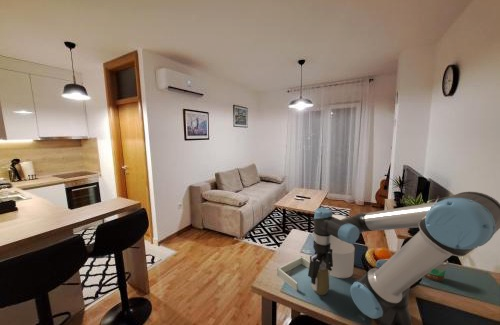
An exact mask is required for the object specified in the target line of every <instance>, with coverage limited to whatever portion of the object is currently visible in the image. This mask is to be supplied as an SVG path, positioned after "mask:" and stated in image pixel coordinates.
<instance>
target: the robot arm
mask: <svg viewBox="0 0 500 325" xmlns="http://www.w3.org/2000/svg"><path fill="white" fill-rule="evenodd" d="M332 215H333V212H332V210H331V209H330V208H326V207H318V208H316V209H315V210H314V216H313V249H314V254H313V255H310V256H309V261H310V265H309V268H308V274H307V276H308V277H309V278H311V280H310V282H311V289H313V291H314V290H315V291H317V283H318V278H317V274H318V270H319V267H320V264H322V261H324V263H325V264H326V268H327V269H328V276H329V277H330V275H329V273H330V271H331V270H332V268H331V267H333V260H332V249H331V248H330V245H331V244H330V242H331V235H332V236H334V237H336V238H338V239H340V240H341V241H344V242H347V243H349V244H353V245H354V244H355V243H356V241H358V240H359V237H360V234H362V233H367V232H374V231H375V232H376V231H389V230H391V231H392V230H402V229H414V228H416V229H417V228H418V229H419V231H417V233H416V234H414V235H413V236H412V237H411V238H410V239H409V240H408V241H407V242H406V243H405V244H404V245H402V247H400V248H399V249H398V250H397V251H396V252H395V253H394V254H393V255H391V256H390V257H389V258H388V259H385V258H384V259H381V258H380V259H378V260H377V261H376V263H375V267H373V268H370V269H369V270H368V271H367V272H366V273H365V274H364V275H363V276H361V278H359V279H358V280H357V281H354V282H353V284H351V286H350V288H349V293H350V296H351V300H352V301H353V303H354V304H355V306H356V307H357V309H358V310H359V311H360V312H361V313H362V314H363V315H365V316H367V317H368V318H370V319H372V320H374V322H375V323H377V324H378V325H412V323H413V322H412V316H411V312H410V309H409V306H408V305H409V297H410V291H411V290H410V289H411V286H413V285H414V284H416V283H417V282H418V281H419V280H421V279H422V278H423V277H424V276H425V275H426V274H427V273H429V272H430V271H431V270H433V269H434V268H435V267H437V266H438V265H439V264H441V263H442V262H446V261H447V260H448V259H449V258H450V257H451V256H455V257H465V256H466V255H467V254H470V252H472V251H473V250H475V249H478V247H482V246H484V245H486V244H487V243H488V242H489V241H490V240H491V239H492V238H493V237H494V235H495V234H496V233H497V232H498V231H499V230H500V202H499V201H498V200H497V199H496V198H494V197H492V196H490V195H488V194H485V193H482V192H477V191H462V192H458V193H456V194H454V195H449V196H446V197H445V196H444V197H438V198H437V199H436V200H435V201H433V202H428V203H422V204H415V205H409V206H403V207H397V208H390V209H386V210H385V209H384V210H378V211H371V212H360V213H356V214H355V215H352V216H350V217H347V218H346V219H344V220H339V219H337V218H334V217H332ZM319 261H320V262H319Z"/></svg>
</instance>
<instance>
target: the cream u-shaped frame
mask: <svg viewBox="0 0 500 325" xmlns="http://www.w3.org/2000/svg"><path fill="white" fill-rule="evenodd" d="M301 265H303V266H305V267H306V268H307V269H309V265H310V260H309V259H307V258H305V257H304V256H301V255H300V256H299V257H297V258H296V259H292V260H291V261H289V262H287V263H285V264H283V265H281V266H279V267H277V268H276V275H277V276H278V277H279V278H280V279H281V280H283V281H284V282H285V283H286V284H287V285H289V286H290V288H292V289H293V290H295V292H297V291H298V290H299V283H298V281H296V280H295V279H294V278H293V277H291V276H290V275H289V274H287V273H286V272H289V271H291V270H293V269H295V268H297V267H299V266H301Z"/></svg>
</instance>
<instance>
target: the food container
mask: <svg viewBox="0 0 500 325" xmlns="http://www.w3.org/2000/svg"><path fill="white" fill-rule="evenodd" d="M449 266H450V265H449V261H448V260H446V261H444V262H442V263H441V264H439V265H438V266H437V267H435V268H434V269H433V270H431V271H430V272H429V273H427V274H426V275H425V276H423V277H424V278H425V279H427V280H430V281H433V282H439V283H440V282H443V280H444V278H445V274H446V271H447V269H448V268H450V267H449Z"/></svg>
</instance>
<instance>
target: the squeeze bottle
mask: <svg viewBox="0 0 500 325" xmlns="http://www.w3.org/2000/svg"><path fill="white" fill-rule="evenodd" d="M319 262H320V261H319ZM317 278H318V283H317V291H315V290H314V289H313V291H314V293H315V294H317V295H319V296H325V295H326V294H327V293H328V290H330V289H329V288H330V275H329V276H328V269H327V268H326V264H325V263H324V261H322V264H320V267H319V270H318V274H317Z"/></svg>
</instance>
